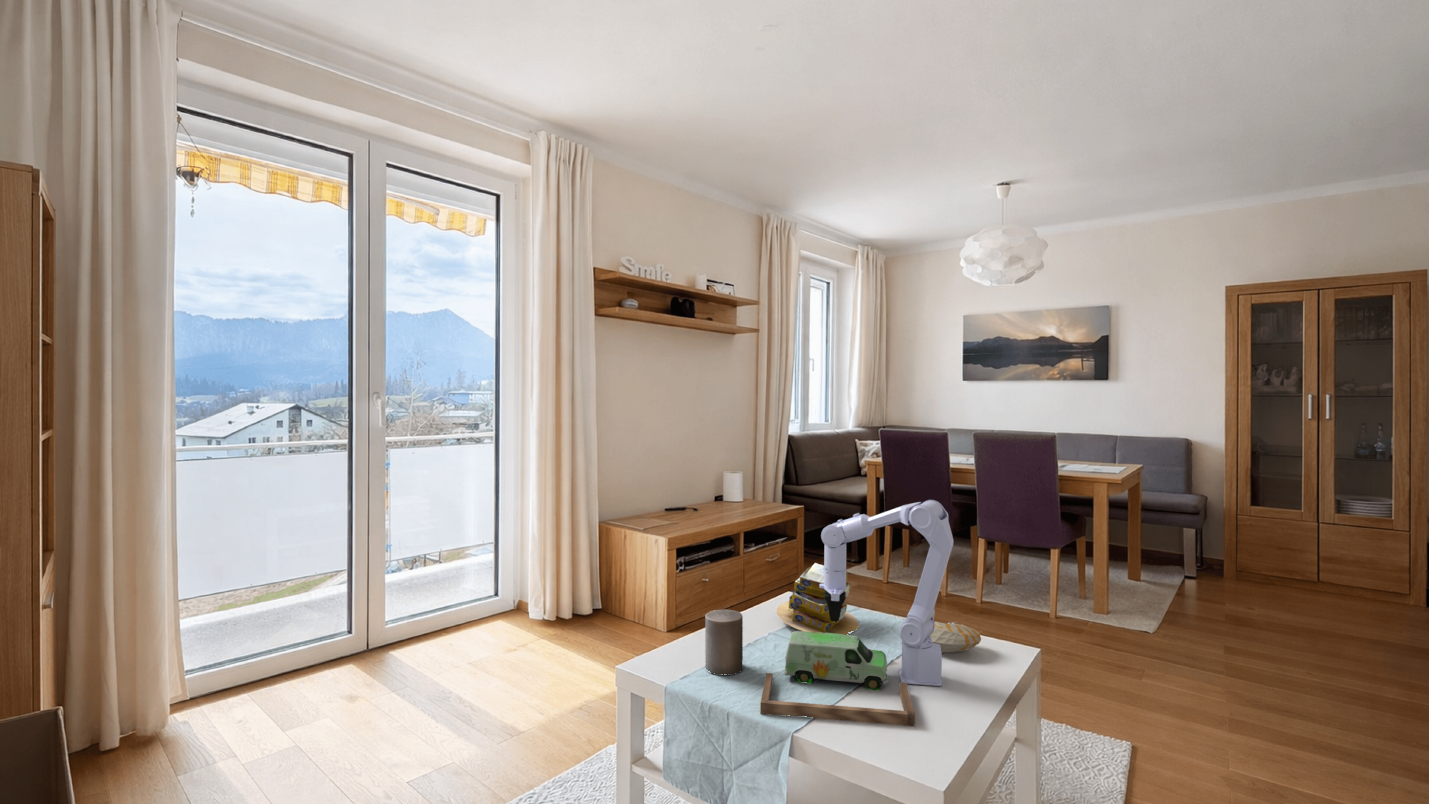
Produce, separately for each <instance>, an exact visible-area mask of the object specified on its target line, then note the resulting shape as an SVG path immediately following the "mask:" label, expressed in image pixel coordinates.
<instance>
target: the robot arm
mask: <svg viewBox="0 0 1429 804" xmlns="http://www.w3.org/2000/svg"><path fill="white" fill-rule="evenodd" d="M897 523H902V524H904V525H905V526H909V525H911V526H912V528H914V529H915V530H916V531H917V532H918V533H920V534H921V535H922V536H923V537H924V538H925V539H926V541H927V543H928V544H929V547H928V552H927V555H926V559H925V561H924V562H925V563H924V564H923V565H924V567H923V568H922V569H923V570H922V572H921V575H920V579H919V583H918V587H917V590H916V592H915V597H914V600H913V603H912V606H911V607H910V609H909V611H908V613H907V615H906V619H905V620H904V621H903V622H902V623H901V624H900V626H899V629H898V635H899V638H900V640H901V668H898V669H897V671H898V675H899V678H900V683H906V684H908V685H918V686H919V685H921V686H932V687H933V686H934V687H942V685H943V684H942V671H943V670H942V665H943V664H942V663H943V662H942V661H943V659H942V658H943V657H942V652H941V647H940V645H939V644H935V643H932V640H931V637H930V634H932V633H933V631H934V628H935V623H934V622H935V620H934V618H935V613H936V611H935V607H936V603H937V599H938V596H939V592H940V589H941V586H942V584H943V579H944V576H945V573H946V570H947V566H948V562H949V560H950V556H951V554H952V550H953V546H954V538H953V537H954V536H953V533H952V529H951V525H950V522H949V513H948V511H946V509H945V508H944V506H943V505H942V503H940V502H939V501H937V500H934V499H928V500H925V501H923V502H921V501H918V502H913V503H908V504H903V505H901V506H898V507H895V508H893V509H890V510H887V511H883V512H881V513H879V514H876V515H872V516H869V515H867V514H865V513H863V514H860V512H857V513H854V514H853V515H852V517H849V518H847V519H843V518H840V519H838V520H837V521H836V522H833V523H832V524H829V525H827V526H825V527H824V528H823V529H822V531H821V534H820V538H821V541H822V543H823V544H824V552H823V553H824V554H823V555H824V556H823V557H824V558H823V559H824V560H823V561H824V562H823V563H824V564H823V565H824V584H820V588H824V589H825V591H824V598H825V600H826V602H827V605H828V609H829V616H830V620H831V621H837V622H838V621H839V618H840V613H841V608H842V605H843V603H845V601H846V598H847V597H846V596H845V595H846V593H845V590H846V589H847V586H846V582H847V581H846V569H847V543H850V542H851V543H852V542H853V541H857V540H861V539H864V538H867V537H871V536H872V534H873V533H874V530H876V529H879V528H883V527H885V526H889V525H893V524H897Z"/></svg>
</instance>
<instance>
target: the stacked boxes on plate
mask: <svg viewBox="0 0 1429 804" xmlns="http://www.w3.org/2000/svg"><path fill="white" fill-rule="evenodd" d="M848 573H849V572H848V569H847V568H846V586H847V589H846V590H845V593H846V595H845V596H846V598H847V597H848V596H849V593H850V591H851V586H852V584H851V582H847V581H848ZM820 584H824V564H819V563H817V562H814V564H813V565H811V566H809V567H808V568H806V570H805V571H803V573H802V574H800V575H799V577H798V578H797V579H796V580H795V581H794V584H793V585H794V587H793V590H791V593H792V594H791V595H790V596H789V599H788V600H787V601H784V602H782V603H780V604H779V605H778V606H777V607H776V614H777V616H778V618H780V620H781V621H782V622H784V623H785V624H787V625H788V626H790V627H792V628H794V629H796V630H797V631H805V632H821V633H834V634H843V635H847V634H849V633H848V632H851V631H855V630H856V629H858V630H859V627H860V623H859V621H858V620H857V618H856V617H855V616H854V615H853V614H851V613H850V612H848V611H847V608H848V604H847V603H845V602H844V603H843V605H842V608H841V613H840V618H839V621H838V622H837V621H831V620H830V616H829V609H828V605H827V602H826V600H825V598H824V591H825V589H824V588H820ZM855 632H856V631H855Z"/></svg>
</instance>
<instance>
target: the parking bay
mask: <svg viewBox="0 0 1429 804" xmlns="http://www.w3.org/2000/svg"><path fill="white" fill-rule="evenodd" d="M773 674H774V673H772V672H766V674H765V678H764V682H763V688H762V689H763V690H762V694H761V699H760V709H759V710H760V711H759V713H760V715H767V716H768V714H771V715H770V716H780V715H786V716H785V717H788V716H787V715H790V716H789V717H792V716H807V717H813V718H812V719H817V720H819V719H820V720H833V721H842V722H843V721H845V722H857V723H868V724H878V725H879V724H881V725H893V726H905V727H915V725H916V714H915V711H914V705H913V702H912V699H911V695H910V692H909V688H908V685H907V684H906V683H901V682H899V696H900V700H901V704H902V705H901V706H902V708H903V710H901V709H899V710H898V709H886V708H885V709H883V708H871V707H860V706H859V707H858V706H847V705H833V704H821V703H820V704H819V703H810V702H809V703H808V702H797V701H795V702H794V701H783V700H782V701H781V700H770V699H771V695H772V688H773V681H774V680H773Z"/></svg>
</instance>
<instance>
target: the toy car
mask: <svg viewBox="0 0 1429 804" xmlns="http://www.w3.org/2000/svg"><path fill="white" fill-rule="evenodd" d="M887 664H888V661H887V655H886V653H885V652H884V651H882V650H878V649H877V650H876V649H870V648H868V647H867V646H866V645H865V644H864V642H863V641H862V639H860V638H859V636H857V635H852V634H850V635H843V634H834V633H821V632H805V631H801V630H795V631H791V635H790V638H789V642H788V646H787V649H786V653H785V666H784V667H785V668H784V672H783V673H784V675H785V677H787V676H789V677H795V678H796V681H797V683H801V682H807V683H806V684H809V683H812V684H813V682H814V680H821V681H822V680H824V681H833V682H834V681H836V682H846V683H847V682H848V683H859V684H862V683H863V684H864V688H865V689H867V690H868V691H869V690H870V691H880V690H881V689H882V686H883V685H887V683H888V673H887V671H888V670H887V669H888V668H887V667H888V665H887ZM882 683H883V684H882Z"/></svg>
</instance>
